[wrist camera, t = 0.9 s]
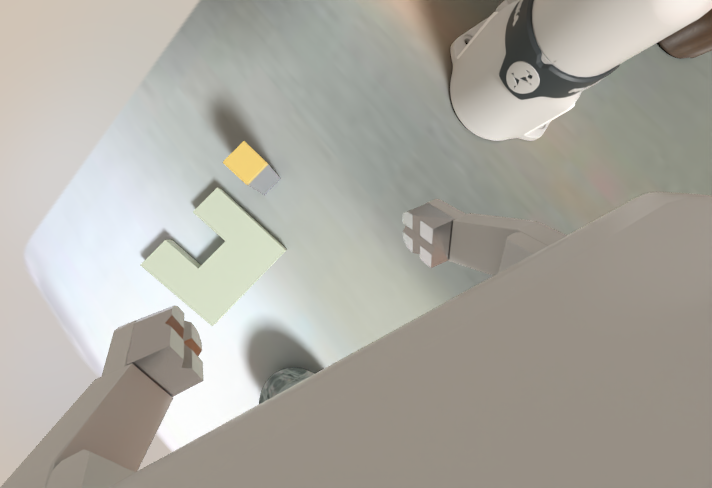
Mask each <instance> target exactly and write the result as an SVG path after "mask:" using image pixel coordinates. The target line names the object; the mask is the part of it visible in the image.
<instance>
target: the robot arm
mask: <svg viewBox="0 0 712 488" xmlns="http://www.w3.org/2000/svg"><path fill="white" fill-rule="evenodd" d="M711 9H712V0H505V1H503V2H502V3H501V4H500V5H499V6H498V7H497V9H496V11H495V12H494V13H493V14H492V15H491V16H489V17H488V18H486V19H485V20H483V21H482V22H480V23H479V24H477V25H476V26H474V27H473V28H471V29H470V30H468V31H467V32H465V33H464V34H462V35H461V36H459V37H458V38H457V39H456V40H455V41H454V42H453V43H452V45H451V48H450V52H451V59H452V64H453V71H452V77H451V83H450V94H451V101H452V104H453V108H454V110H455V112H456V114H457V116H458V118H459V119H460V121H461V122H462V123H463V125H464V126H465V127H466V128H467V129H469V130H470V131H471V132H472V133H474V134H476V135H477V136H479V137H482V138H484V139H488V140H495V141H500V140H507V139H512V138H520V139H524V140H528V141H533V140H536V139H538V138H539V137H541V136H542V134H543V133H544V131H545V130H546V128H547V126H548V125H549V123H550V122H551V120H553V119H555V118H557V117H558V116H560V115H562V114H564V113H565V112H567V111H569V110H570V109H572V108H573V107H574V106H575V102H576V100H577V99H578V98H579V96H580V94H581V92H582V91H583V90H585V89H587V88H589V87H591V86H593V85H595V84H596V83H598V82H600V81H601V80H602V79H604V77H606V76H608V75H609V74H611V73H612V72H613V71H615V70H616V69H617V68H618V67H619V66H620V64H621V63H623V62H624V61H626V60H628V59H630V58H631V57H633V56H635V55H637V54H638V53H640V52H642V51H644V50H645V49H647V48H649V47H651V46H652V45H654V44H656V43H658V42H659V41H661V40H663V39H665V38H666V37H668V36H670V35H672V34H673V33H675V32H677V31H679V30H680V29H682V28H684V27H685V26H687V25H689V24H691V23H692V22H694V21H696V20H698V19H699V18H701V17H702V16H703V15H705V14H706V13H707V12H708V11H710V10H711ZM465 42H467V44H465ZM402 222H403V223H404V224H405V225H406V226H405V228H404V230H403V239H404V242H405V244H406V246H407V247H408V249H409V250H410V251H411V252H413V253H417V254H420V259H421V260H422V261H423V262H424V263H425V264H427V265H428V266H429V267H430V268H433V267H435V266H437V265H439V264H441V263H443V262H446V261H448V260H449V261H451V262H454V263H457V264H460V265H463V266H466V267H469V268H472V269H475V270H478V271H481V272H484V273H487V274H490V275H493V276H492V277H490V278H489V279H487V280H485V281H483V282H481V283H479V284H478V285H476V286H474V287H472V288H470V289H469V290H467V291H465V292H463V293H461V294H459V295H458V296H456V297H454V298H452V299H450V300H449V301H447V302H445V303H443V304H441V305H439V306H438V307H436V308H434V309H432V310H430V311H429V312H427V313H425V314H423V315H421V316H419V317H418V318H416V319H414V320H412V321H410V322H408V323H407V324H405V325H403V326H401V327H399V328H398V329H396V330H394V331H392V332H390V333H388V334H387V335H385V336H383V337H381V338H379V339H378V340H376V341H374V342H372V343H370V344H368V345H367V346H365V347H363V348H361V349H359V350H357V351H356V352H354V353H352V354H350V355H348V356H347V357H345V358H343V359H341V360H339V361H337V362H336V363H334V364H332V365H330V366H328V367H327V368H325V369H323V370H321V371H319V372H317V373H316V374H314V375H312V376H310V377H308V378H306V379H305V380H303V381H301V382H299V383H297V384H296V385H294V386H292V387H290V388H288V389H286V390H285V391H283V392H281V393H279V394H277V395H276V396H274V397H272V398H270V399H268V400H266V401H265V402H263V403H261V404H259V405H257V406H256V407H254V408H252V409H250V410H248V411H246V412H245V413H243V414H241V415H239V416H237V417H235V418H234V419H232V420H230V421H228V422H226V423H225V424H223V425H221V426H219V427H217V428H215V429H214V430H212V431H210V432H208V433H206V434H205V435H203V436H201V437H199V438H197V439H195V440H194V441H192V442H190V443H188V444H186V445H185V446H183V447H181V448H179V449H177V450H175V451H174V452H172V453H170V454H168V455H166V456H164V457H163V458H161V459H159V460H157V461H156V462H154V463H152V464H150V465H148V466H146V467H144V468H143V469H141V470H139V471H137V470H138V469H139V467H140V464H141V462H142V460H143V458H144V456H145V454H146V452H147V450H148V448H149V446H150V444H151V442H152V440H153V438H154V436H155V434H156V432H157V430H158V428H159V426H160V424H161V422H162V420H163V418H164V416H165V414H166V412H167V410H168V408H169V406H170V403H171V401H172V399H173V398H172V397H173V396H175V395H177V394H179V393H181V392H183V391H184V390H186V389H188V388H190V387H192V386H194V385H196V384H198V383H200V382H202V381H203V362H202V361H201V360H200V358H199V357H198V356H199V354H200V352H201V351H202V345H201V340H200V337H199V334H198V332H197V330H196V328H195V327H194V325H193V324H192V323H191V322H187V321H184V313H183V312H182V311H181V309H180V308H179V307H178V306H172V307H169V308H167V309H164V310H162V311H159V312H156V313H154V314H151V315H149V316H146V317H143V318H141V319H138V320H137V321H133V322H131V323H128V324H126V325H123V326H121V327H118V328H117V329H116V330H115V331H114V333H113V337H112V341H111V344H110V348H109V352H108V355H107V359H106V362H105V366H104V370H103V373H102V377H100V378H98V379H95V380H94V381H93V382H92V384H91V385H90V386H89V387H88V388H87V389H86V391H85V392H84V393H83V394H82V395H81V396H80V397H79V398H78V400H77V401H76V402H75V403H74V404H73V405H72V406H71V408H70V409H69V410H68V411H67V412H66V413H65V414H64V416H63V417H62V418H61V419H60V420H59V421H58V422H57V423H56V425H55V426H54V427H53V428H52V429H51V431H49V433H48V434H47V435H46V436H45V437H44V438H43V439H42V441H41V442H40V443H39V444H38V445H37V446H36V448H35V449H34V450H33V451H32V452H31V453H30V454H29V455H28V457H27V458H26V459H25V460H24V461H23V462H22V463H21V465H20V466H19V467H18V468H17V469H16V470H15V471H14V473H13V474H12V475H11V476H10V477H9V478H8V479H7V481H6V482H5V483H4V484H3V485H2V486H1V487H0V488H712V196H710V195H701V194H689V193H672V192H650V193H645V194H642V195H640V196H638V197H636V198H634V199H632V200H630V201H629V202H627V203H625V204H623V205H621V206H620V207H618V208H616V209H614V210H612V211H611V212H609V213H607V214H605V215H603V216H602V217H600V218H598V219H596V220H594V221H592V222H591V223H589V224H587V225H585V226H583V227H582V228H580V229H578V230H576V231H574V232H572V233H571V234H569V235H565V234H563V233H561V232H559V231H557V230H555V229H552V228H550V227H548V226H546V225H544V224H542V223H540V222H537V221H531V220H523V219H515V218H506V217H498V216H490V215H481V214H473V213H469V214H465V213H463V212H462V211H460V210H458V209H456V208H454V207H453V206H451V205H449V204H447V203H445V202H443V201H442V200H440V199H434V200H432V201H430V202H427V203H425V204H424V205H421V206H419V207H417V208H414V209H412V210H409V211H407V212H404V213H403V216H402Z"/></svg>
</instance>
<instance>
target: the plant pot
mask: <svg viewBox="0 0 712 488" xmlns="http://www.w3.org/2000/svg"><path fill="white" fill-rule="evenodd" d="M659 44H660V45H661V47H662V48H663V49H664V50H665V51H666V52H667V53H669V54H670V55H672V56H674V57H676V58H687V57H690V58H694V57H697V56H699V55H702V54H704V53H706V52H709V51H711V50H712V9H711V10H710V11H708V12H707V13H706V14H705V15H703V16H702V17H701V18H699V19H698V20H696V21H694V22H692V23H691V24H689V25H687V26H685V27H684V28H682V29H680V30H679V31H677V32H675V33H673V34H672V35H670V36H668V37H666V38H665V39H663V40H661V41H659Z"/></svg>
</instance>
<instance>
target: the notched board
mask: <svg viewBox="0 0 712 488" xmlns="http://www.w3.org/2000/svg"><path fill="white" fill-rule="evenodd" d="M193 213H194V214H195V215H197V216H198V217H199V218H200V219H201V220H202V221H203V222H204V223H206V224H207V225H208V226H209V227H210V228H211V229H212V230H213V231H214V232H216V233H217V234H218V235H219V236H220V237H221V238H222V239H223V240H224V241H225V242H224V243H223V244H222V245H221V246H220V247H219V248H218V249H217V250H216V251H215V252H214V253H213V254H212V255H211V256H210V257H209V258H208V259H207V260H206V261H205V262H204V263H203V264H202V265H200V264H199V263H198V262H197V261H196V260H195V259H193V258H192V257H191V256H190V255H189V254H188V253H187V252H185V251H184V250H183V249H182V248H181V247H180V246H179V245H177V244H176V243H175V242H174V241H173V240H172V239H171V240H165V241H164V242H163V243H162V244H161V245H160V246H159V247H158V248H157V249H156V250H155V251H154V252H153V253H152V254H151V255H150V256H149V257H148V258H147V259H146V260H145V261H144V262H143V263H142V264H141V266H142V267H143V268H144V269H145V270H146V271H148V272H149V273H150V274H151V275H152V276H154V277H155V278H156V279H157V280H158V281H159V282H161V283H162V284H163V285H164V286H165V287H167V288H168V289H169V290H170V291H171V292H172V293H174V294H175V295H176V296H177V297H178V298H180V299H181V300H182V301H183V302H184V303H185V304H187V305H188V306H189V307H190V308H191V309H193V310H194V311H195V312H196V313H197V314H198V315H200V316H201V317H202V318H203V319H204V320H205V321H207V322H208V323H209V324H210V325H211V326H213V325H214V324H216V323H217V322H218V321H219V320H220V319H221V318H222V317H223V316H224V314H225V313H226V312H227V311H228V310H229V309H230V308H231V307H232V306H233V305H234V304H235V303H236V302H237V301H238V300H239V299H240V298H241V297H242V296H243V295H244V294H245V293H246V292H247V291H248V290H249V289H250V288H251V286H252V285H253V284H254V283H255V282H256V281H257V280H258V279H259V278H260V277H261V276H262V275H263V274H264V273H265V272H266V271H267V270H268V269H269V268H270V267H271V266H272V265H273V264H274V263H275V262H276V261H277V260H278V258H279V257H280V256H281V255H282V254H283V253H284V252H285V251H286V250H287V249H286V248H285V247H284V246H283V245H282V244H281V243H280V242H278V241H277V240H276V239H275V238H274V237H273V236H272V235H271V234H270V233H269V232H268V231H267V230H265V229H264V228H263V227H262V226H261V225H260V224H259V223H258V222H257V221H256V220H255V219H254V218H252V217H251V216H250V215H249V214H248V213H247V212H246V211H245V210H244V209H243V208H242V207H241V206H239V205H238V204H237V203H236V202H235V201H234V200H233V199H232V198H231V197H230V196H229V195H227V194H226V193H225V192H224V191H223V190H222V189H220V188H218V187H217V188H216V189H215V190H214V191H213V192H212V193H211V194H210V195H209V196H208V197H207V198H206V199H205V200H204V201H203V202H202V203H201V204H200V205H199V206H198V207H197V208H196V209H195V210H194V211H193Z"/></svg>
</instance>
